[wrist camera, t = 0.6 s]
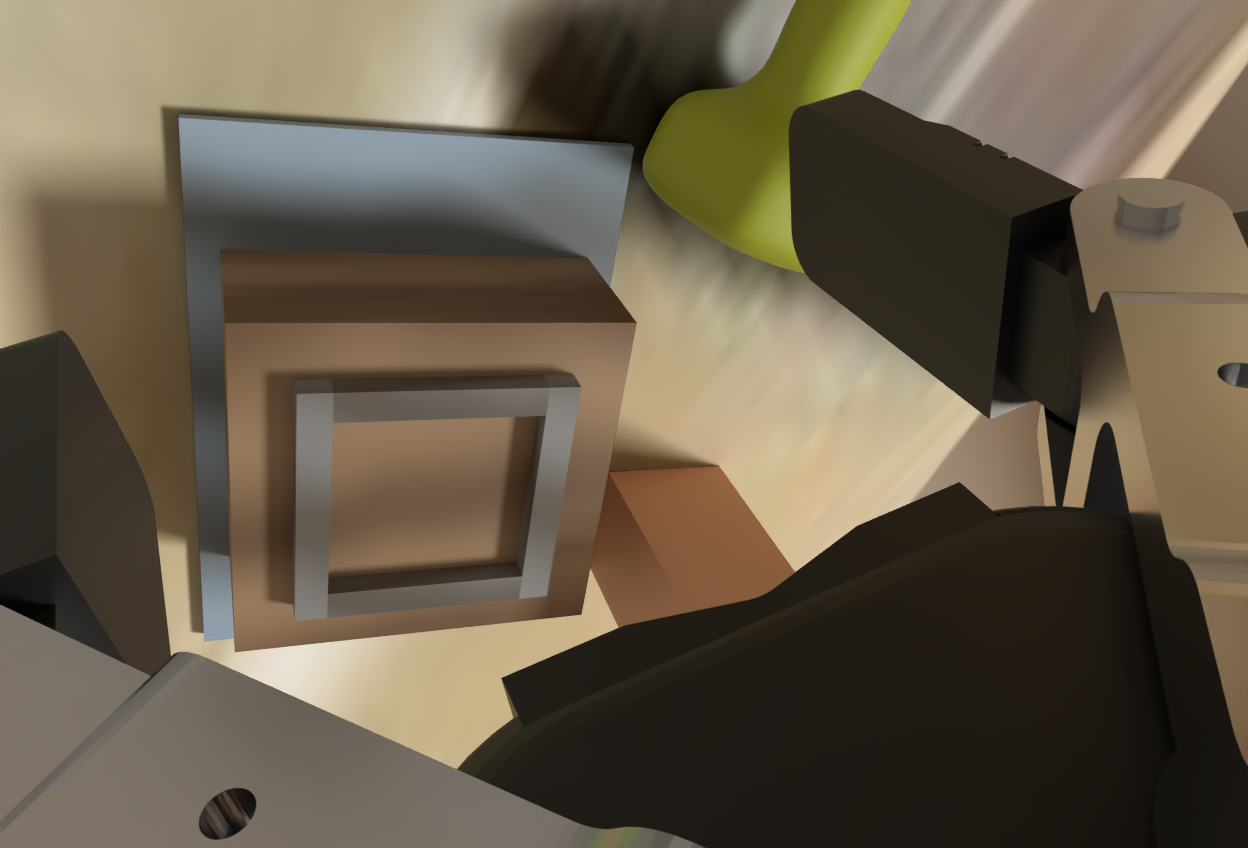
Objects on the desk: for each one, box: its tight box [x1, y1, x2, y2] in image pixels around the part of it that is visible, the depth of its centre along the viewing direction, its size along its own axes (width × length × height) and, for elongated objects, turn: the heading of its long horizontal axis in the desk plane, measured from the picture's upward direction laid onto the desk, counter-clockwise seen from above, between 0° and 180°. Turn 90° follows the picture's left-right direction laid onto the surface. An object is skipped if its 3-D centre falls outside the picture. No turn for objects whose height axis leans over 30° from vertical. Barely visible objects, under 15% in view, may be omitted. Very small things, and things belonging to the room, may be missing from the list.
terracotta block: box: [591, 466, 795, 628], centre depth 41 cm, size 5×5×10 cm
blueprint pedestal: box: [179, 114, 637, 652], centre depth 35 cm, size 20×14×6 cm
